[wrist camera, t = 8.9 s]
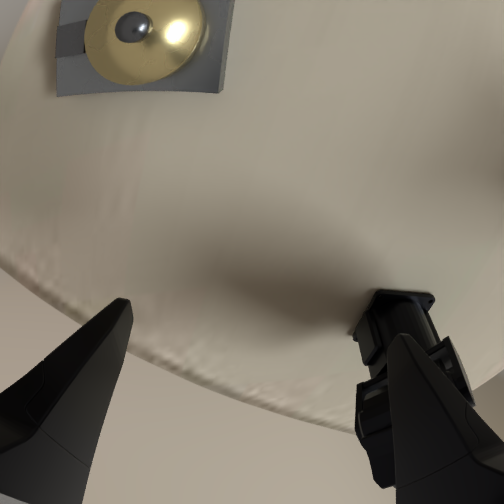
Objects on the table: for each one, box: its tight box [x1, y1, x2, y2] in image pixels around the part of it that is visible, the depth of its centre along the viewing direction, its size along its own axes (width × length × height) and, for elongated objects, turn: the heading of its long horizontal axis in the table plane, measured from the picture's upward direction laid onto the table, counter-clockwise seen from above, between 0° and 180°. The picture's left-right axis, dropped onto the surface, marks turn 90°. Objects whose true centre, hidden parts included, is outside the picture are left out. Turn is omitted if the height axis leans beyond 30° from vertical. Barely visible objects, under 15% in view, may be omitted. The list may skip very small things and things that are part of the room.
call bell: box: [55, 0, 235, 97], centre depth 11 cm, size 10×7×4 cm
